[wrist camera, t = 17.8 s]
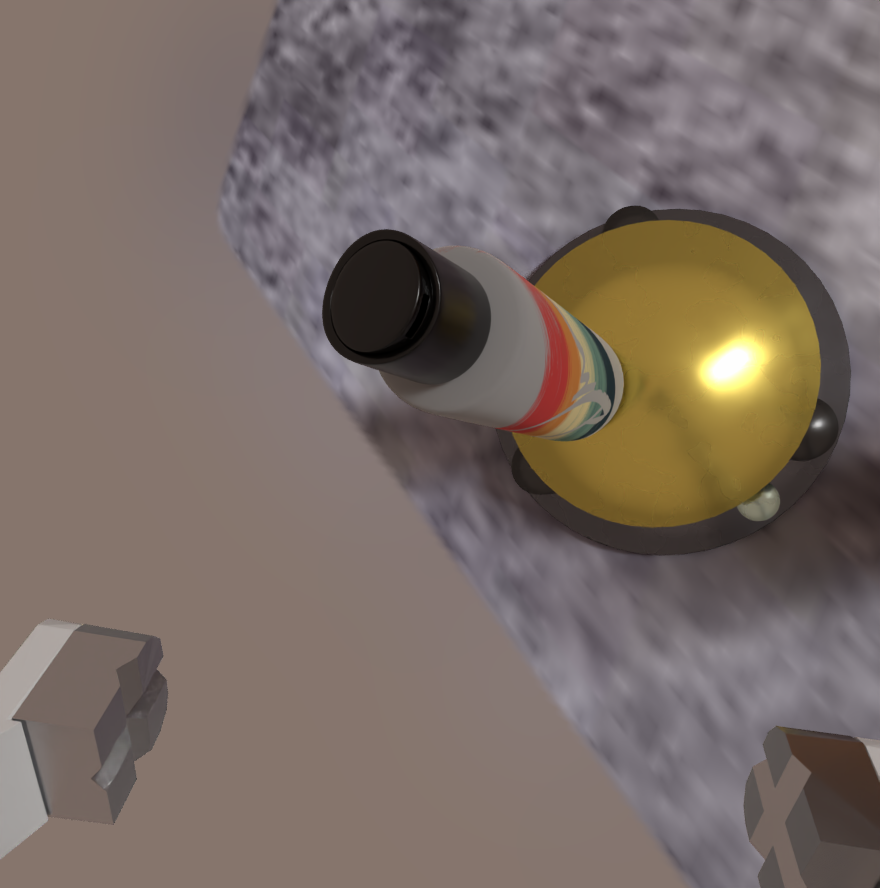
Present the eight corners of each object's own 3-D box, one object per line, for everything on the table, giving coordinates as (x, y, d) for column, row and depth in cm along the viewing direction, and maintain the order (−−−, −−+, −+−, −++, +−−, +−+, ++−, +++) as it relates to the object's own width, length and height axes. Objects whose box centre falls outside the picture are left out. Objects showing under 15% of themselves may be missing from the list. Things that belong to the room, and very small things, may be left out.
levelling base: (937, 404, 37) (955, 395, 34) (628, 622, 41) (618, 633, 38) (686, 143, 42) (681, 114, 39) (435, 364, 46) (411, 354, 43)
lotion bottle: (593, 462, 39) (406, 432, 21) (497, 413, 41) (254, 347, 23) (647, 357, 38) (501, 231, 20) (546, 312, 40) (333, 163, 22)
